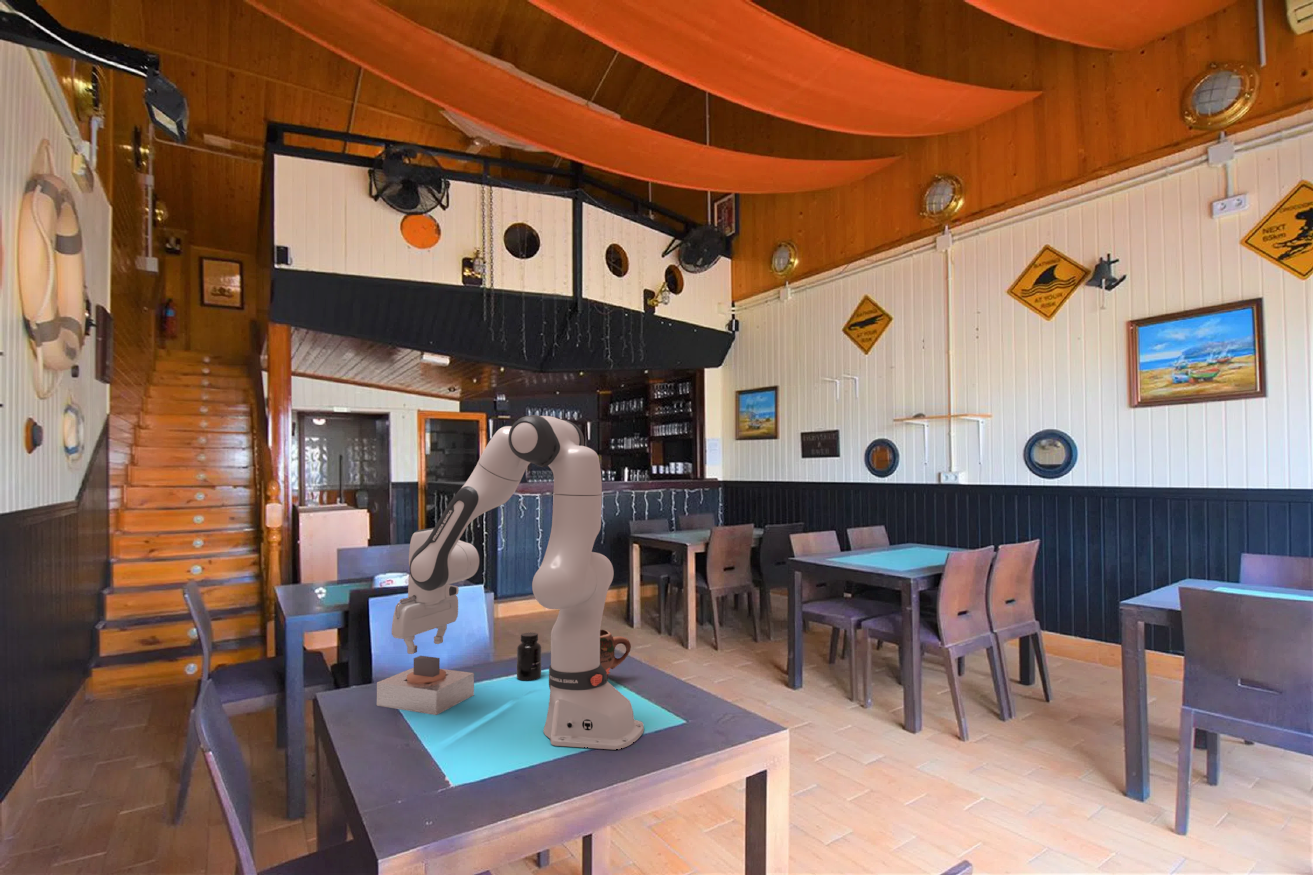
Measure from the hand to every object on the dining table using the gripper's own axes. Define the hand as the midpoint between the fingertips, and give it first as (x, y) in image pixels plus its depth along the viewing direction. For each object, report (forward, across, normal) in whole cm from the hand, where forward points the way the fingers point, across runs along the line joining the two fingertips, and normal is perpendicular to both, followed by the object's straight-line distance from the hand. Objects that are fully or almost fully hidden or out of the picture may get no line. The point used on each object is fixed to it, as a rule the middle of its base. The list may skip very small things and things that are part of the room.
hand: (425, 648), depth 160 cm
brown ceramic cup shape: (+14, +30, -33) cm, 46 cm away
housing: (+14, 0, 0) cm, 14 cm away
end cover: (+13, 0, 0) cm, 13 cm away
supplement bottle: (+14, +28, -12) cm, 34 cm away
